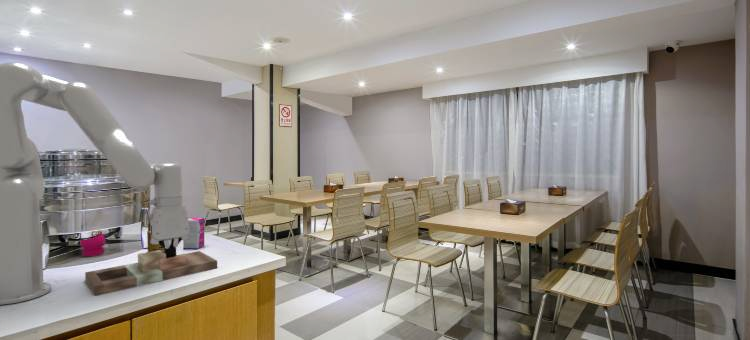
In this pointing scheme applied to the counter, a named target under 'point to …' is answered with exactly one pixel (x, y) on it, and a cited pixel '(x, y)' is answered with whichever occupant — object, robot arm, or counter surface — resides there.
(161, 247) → the condiment
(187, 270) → the board
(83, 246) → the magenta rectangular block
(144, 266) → the maple block
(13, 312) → the counter surface
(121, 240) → the counter surface
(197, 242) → the supplement box
